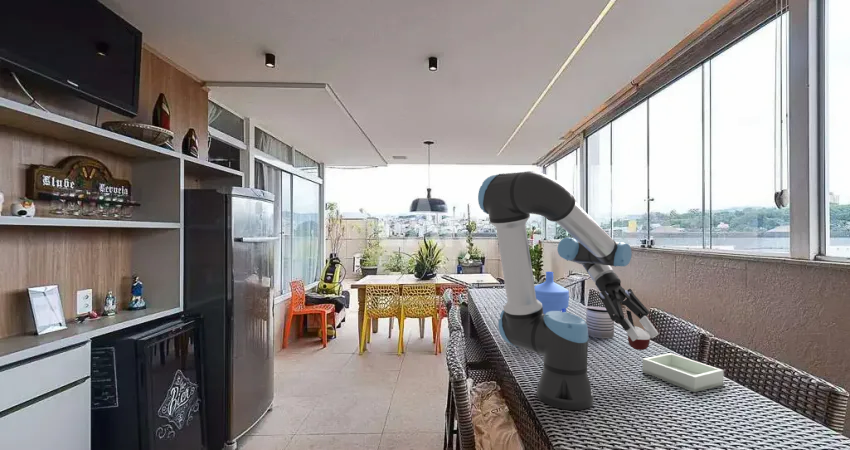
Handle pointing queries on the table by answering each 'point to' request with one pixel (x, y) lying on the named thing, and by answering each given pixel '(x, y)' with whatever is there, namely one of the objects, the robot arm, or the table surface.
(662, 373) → the bin
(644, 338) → the cocoa
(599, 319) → the can
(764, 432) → the table surface
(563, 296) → the water jug
